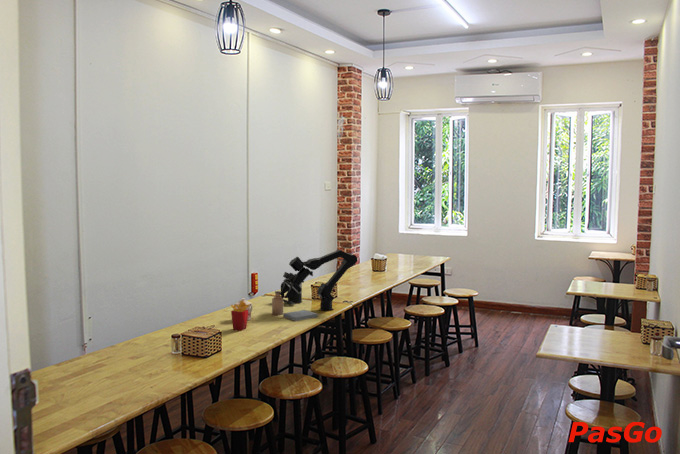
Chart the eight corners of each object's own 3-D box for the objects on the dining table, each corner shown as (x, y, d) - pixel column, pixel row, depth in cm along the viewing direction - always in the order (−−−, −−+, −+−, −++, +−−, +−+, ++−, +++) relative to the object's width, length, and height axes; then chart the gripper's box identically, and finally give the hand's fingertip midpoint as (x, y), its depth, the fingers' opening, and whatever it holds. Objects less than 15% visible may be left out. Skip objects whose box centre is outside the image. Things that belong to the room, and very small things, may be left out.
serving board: (304, 313, 319) (304, 309, 319) (317, 317, 310) (317, 313, 310) (283, 316, 310) (283, 313, 309) (295, 321, 300) (295, 317, 300)
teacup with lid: (244, 322, 296) (244, 301, 296) (231, 319, 301) (231, 299, 300) (258, 317, 307) (258, 297, 306) (245, 315, 311) (245, 295, 310)
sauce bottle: (279, 312, 321) (279, 290, 320) (285, 314, 316) (285, 291, 315) (269, 313, 317) (270, 291, 316) (276, 315, 312) (276, 293, 311)
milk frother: (300, 300, 355) (300, 277, 353) (306, 305, 340) (306, 281, 338) (278, 301, 350) (278, 278, 349) (284, 306, 335) (284, 282, 334)
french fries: (230, 330, 280) (230, 301, 279) (239, 326, 288) (239, 298, 287) (245, 332, 277) (245, 302, 276) (253, 328, 285) (253, 299, 283)
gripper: (286, 264, 326) (268, 284, 323) (296, 269, 309) (277, 290, 306) (299, 277, 330) (281, 296, 326) (309, 282, 313) (291, 302, 309)
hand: (282, 296), depth 317 cm, fingers open, 9 cm apart
